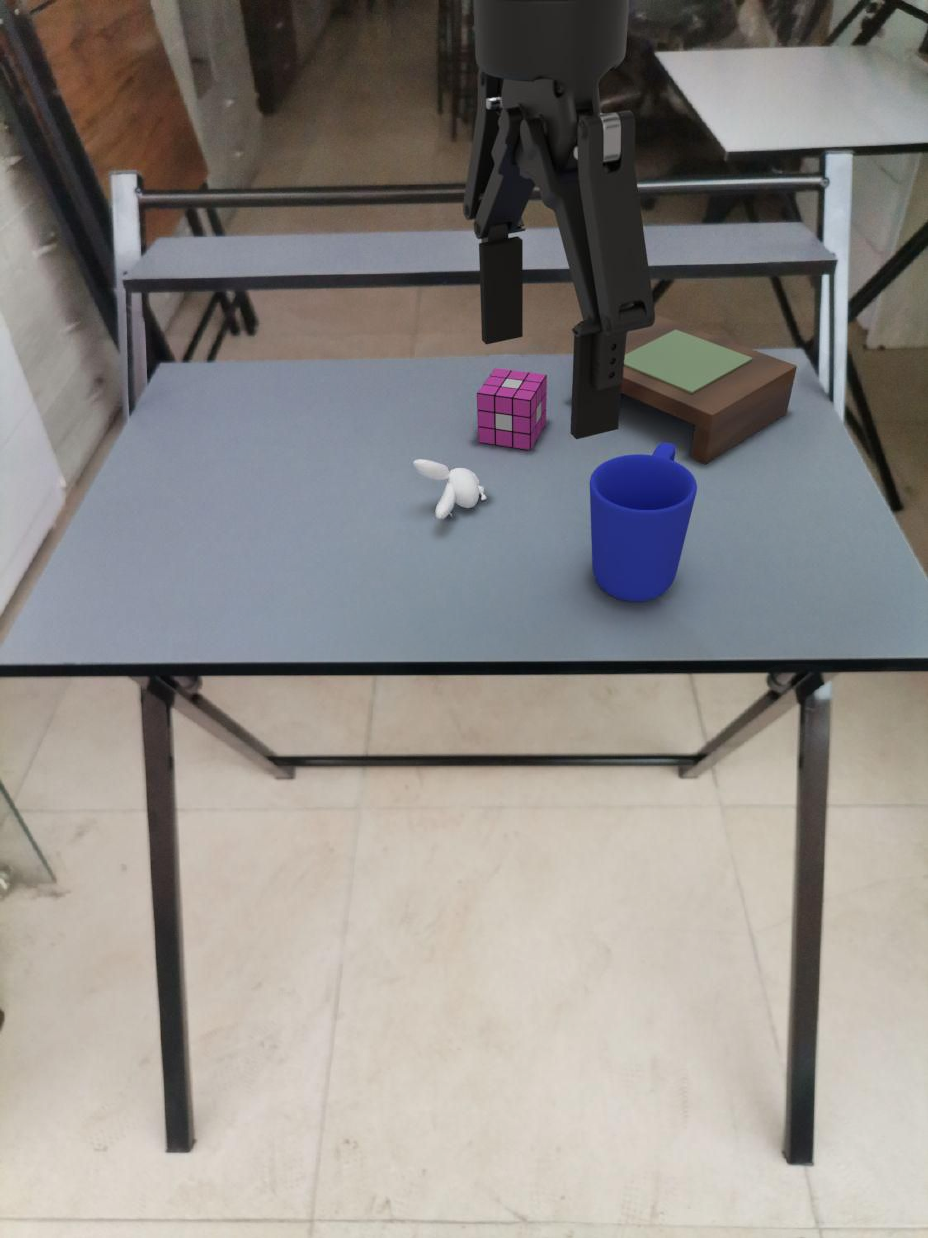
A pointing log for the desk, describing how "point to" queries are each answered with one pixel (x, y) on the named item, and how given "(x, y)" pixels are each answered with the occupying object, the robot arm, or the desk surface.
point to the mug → (639, 522)
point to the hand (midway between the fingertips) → (544, 381)
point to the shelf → (706, 383)
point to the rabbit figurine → (452, 486)
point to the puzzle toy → (512, 408)
